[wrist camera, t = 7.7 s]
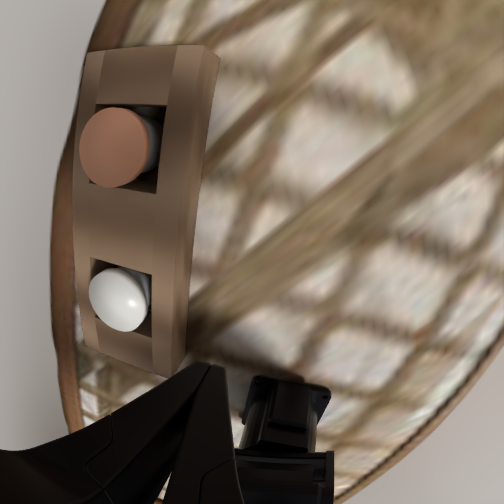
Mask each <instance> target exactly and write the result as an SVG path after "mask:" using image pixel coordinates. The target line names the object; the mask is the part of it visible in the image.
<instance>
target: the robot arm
mask: <svg viewBox="0 0 504 504" xmlns="http://www.w3.org/2000/svg"><path fill="white" fill-rule="evenodd" d="M256 381H259V382H256ZM323 395H326V396H323ZM330 399H331V391H329V390H326V389H321V388H315V387H310V386H304V385H299V384H294V383H289V382H285V381H280V380H276V379H271V378H267V377H262V376H254V377H253V379H252V382H251V386H250V390H249V394H248V398H247V402H246V406H245V410H244V414H243V418H242V424H243V425H245V427H244V431H243V434H242V438H241V441H240V445H239V448H234V443H233V434H232V426H231V416H230V407H229V397H228V387H227V377H226V369H225V367H222V366H218V365H215V364H213V365H211V364H210V363H208V362H204V361H201V360H197V361H195V362H194V363H192V364H190V365H189V366H187V367H186V368H184V369H183V370H181V371H180V372H178V373H176V374H175V375H173V376H172V377H170V378H169V379H167V380H165V381H164V382H162V383H161V384H159V385H157V386H156V387H154V388H153V389H151V390H149V391H148V392H146V393H144V394H143V395H141V396H139V397H138V398H136V399H134V400H133V401H131V402H129V403H128V404H126V405H124V406H123V407H121V408H119V409H118V410H116V411H114V412H113V413H111V415H107V416H105V417H104V418H102V419H100V420H98V421H96V422H95V423H93V424H91V425H89V426H87V427H85V428H83V429H80V430H78V431H76V432H74V433H71V434H69V435H66V436H64V437H61V438H59V439H56V440H53V441H51V442H48V443H45V444H43V445H40V446H37V447H34V448H30V449H26V450H19V451H8V450H1V449H0V504H154V503H155V501H156V499H157V497H158V495H159V494H160V492H161V490H162V488H163V486H164V484H165V483H166V481H167V479H168V477H169V475H170V473H171V476H170V479H169V483H168V486H167V489H166V493H165V496H164V499H163V503H162V504H333V499H334V451H326V452H315V445H316V430H317V424H318V422H319V420H320V419H321V417H322V415H323V413H324V411H325V409H326V407H327V405H328V403H329V401H330Z"/></svg>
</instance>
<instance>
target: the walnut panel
mask: <svg viewBox="0 0 504 504" xmlns="http://www.w3.org/2000/svg"><path fill="white" fill-rule="evenodd" d="M219 62H220V58H219V57H218V56H217V55H216V54H214V53H213V52H212V51H211V50H209V49H208V48H207V47H206V46H204V45H163V46H144V47H131V48H120V49H111V50H103V51H96V52H89V53H87V58H86V63H85V68H84V73H83V79H82V85H81V91H80V98H79V105H78V113H77V122H76V132H75V144H74V159H73V185H72V219H73V245H74V260H75V272H76V282H77V291H78V300H79V307H80V314H81V321H82V327H83V333H84V339H85V345H86V346H88V347H90V348H92V349H94V350H96V351H99V352H101V353H103V354H106V355H108V356H110V357H113V358H115V359H118V360H120V361H123V362H125V363H128V364H130V365H133V366H135V367H138V368H141V369H143V370H146V371H149V372H151V373H154V374H157V375H160V376H163V377H166V378H168V379H169V378H170V377H172V376H173V375H174V374H175V372H176V371H177V369H178V367H179V365H180V364H181V362H182V360H183V359H184V357H185V347H186V330H187V314H188V300H189V287H190V275H191V264H192V253H193V243H194V234H195V224H196V215H197V207H198V198H199V190H200V182H201V174H202V167H203V160H204V153H205V146H206V139H207V132H208V126H209V119H210V113H211V107H212V101H213V95H214V89H215V84H216V78H217V73H218V67H219ZM122 106H136V107H161V108H166V115H165V122H164V129H163V136H162V144H161V153H160V162H159V171H158V181H157V183H155V182H149V181H142V180H136V179H134V180H133V181H131V182H130V183H127V184H125V185H121V186H118V187H114V188H105V187H101V186H99V185H97V184H96V183H94V182H93V181H92V180H91V179H90V178H89V177H88V176H87V174H86V173H85V171H84V169H83V167H82V164H81V161H80V154H79V145H80V138H81V135H82V132H83V129H84V127H85V125H86V124H87V122H88V121H89V120H90V118H91V117H92V116H93V115H95V114H96V113H97V112H99V111H101V110H103V109H106V108H112V107H114V108H122ZM113 264H116V265H119V266H123V267H126V268H130V269H133V270H137V271H140V272H144V273H147V274H151V275H152V311H149V310H148V312H147V315H146V318H145V319H144V320H143V321H142V323H141V324H140V325H139V326H138V327H137V328H136V329H134V330H132V331H128V332H123V331H118V330H116V329H113V328H111V327H110V326H108V325H107V324H106V323H104V322H103V321H102V320H101V319H100V318H99V316H98V315H97V314H96V312H95V311H94V309H93V307H92V304H91V302H90V298H89V285H90V282H91V280H92V279H93V278H94V277H95V276H96V275H98V274H99V273H100V272H102V271H103V270H105V269H108V268H114V265H113Z"/></svg>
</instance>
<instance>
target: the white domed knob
mask: <svg viewBox="0 0 504 504" xmlns="http://www.w3.org/2000/svg"><path fill="white" fill-rule="evenodd" d="M89 298H90V302H91V304H92V307H93V309H94V311H95V312H96V314H97V315H98V316H99V318H100V319H101V320H102V321H103V322H104V323H106V324H107V325H108V326H110V327H111V328H113V329H116V330H118V331H123V332H128V331H132V330H134V329H136V328H137V327H138V326H139V325H140V324H141V323H142V321H143V320H144V319H145V318H146V315H147V312H148V306H149V305H150V304H151V303H152V275H151V274H147V273H144V272H140V271H137V270H133V269H130V268H126V267H123V266H119V267H117V268H108V269H105V270H103V271H102V272H100V273H99V274H98V275H96V276H95V277H94V278H93V279H92V280H91V282H90V285H89Z"/></svg>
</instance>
